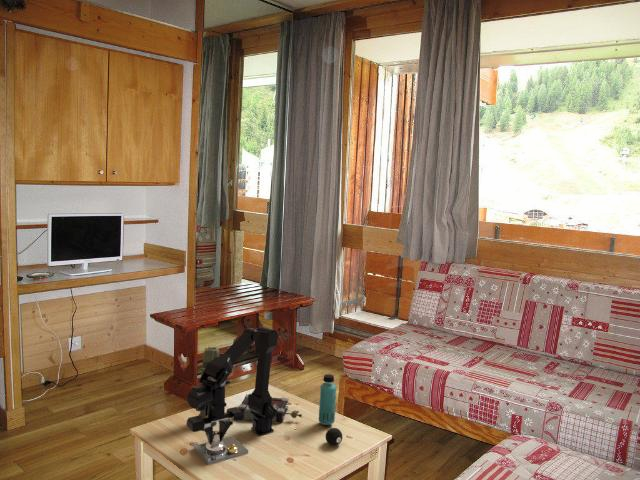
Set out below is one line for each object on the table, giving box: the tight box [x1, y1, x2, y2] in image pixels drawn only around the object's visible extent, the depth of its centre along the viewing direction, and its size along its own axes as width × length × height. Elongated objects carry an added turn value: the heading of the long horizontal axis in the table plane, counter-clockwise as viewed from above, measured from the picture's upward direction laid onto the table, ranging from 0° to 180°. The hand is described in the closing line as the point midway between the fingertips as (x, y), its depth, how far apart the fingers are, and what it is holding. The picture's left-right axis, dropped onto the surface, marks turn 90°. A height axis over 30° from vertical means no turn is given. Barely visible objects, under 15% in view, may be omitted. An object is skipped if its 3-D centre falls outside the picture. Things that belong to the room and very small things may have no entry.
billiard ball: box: [325, 427, 343, 447], centre depth 197 cm, size 6×6×6 cm
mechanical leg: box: [197, 346, 221, 429], centre depth 208 cm, size 14×7×30 cm, turn 179°
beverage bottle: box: [318, 373, 337, 426], centre depth 212 cm, size 6×7×20 cm
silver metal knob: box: [205, 430, 224, 453], centre depth 185 cm, size 6×6×6 cm
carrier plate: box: [193, 435, 249, 466], centre depth 189 cm, size 15×12×4 cm
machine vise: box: [238, 394, 303, 424], centre depth 219 cm, size 15×25×5 cm, turn 84°
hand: (215, 442), depth 185 cm, fingers closed on silver metal knob, 3 cm apart
